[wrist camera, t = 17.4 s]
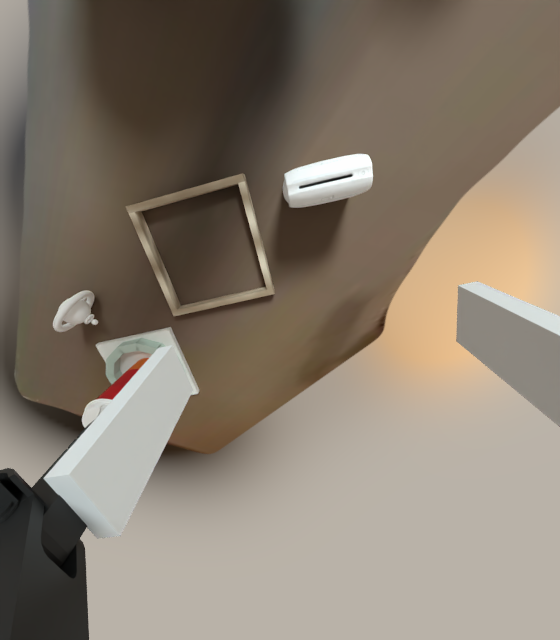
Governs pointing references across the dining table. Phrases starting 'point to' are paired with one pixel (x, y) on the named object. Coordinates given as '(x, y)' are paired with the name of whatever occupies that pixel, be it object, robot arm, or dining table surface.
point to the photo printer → (328, 180)
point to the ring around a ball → (75, 311)
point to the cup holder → (139, 352)
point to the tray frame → (157, 262)
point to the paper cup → (109, 394)
